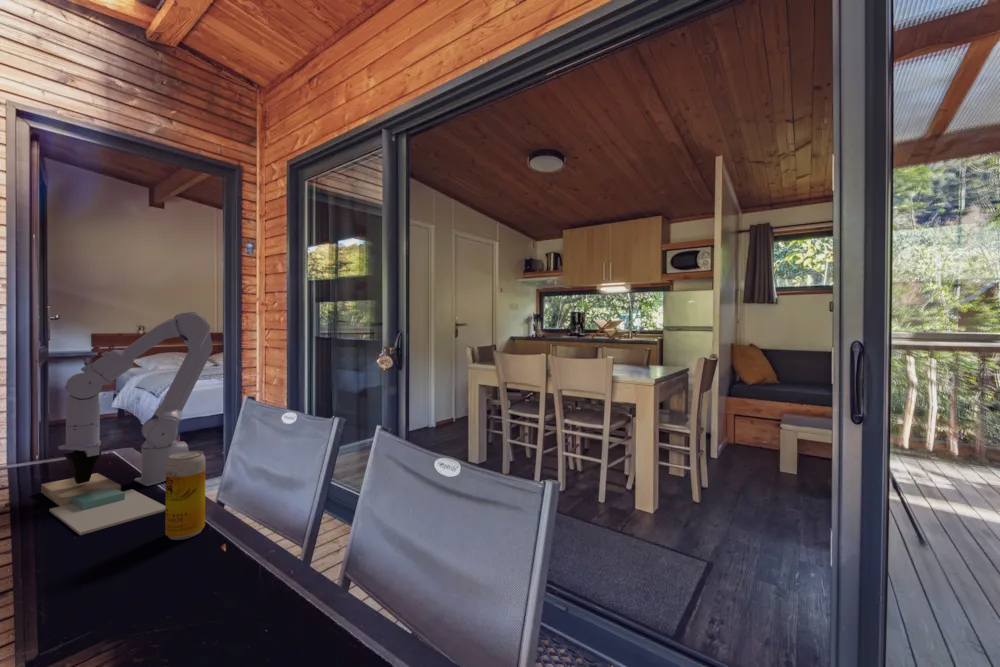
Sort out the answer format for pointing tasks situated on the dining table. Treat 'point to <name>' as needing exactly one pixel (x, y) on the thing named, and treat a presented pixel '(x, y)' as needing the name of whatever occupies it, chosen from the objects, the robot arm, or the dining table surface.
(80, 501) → the tile
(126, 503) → the mat
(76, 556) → the dining table surface
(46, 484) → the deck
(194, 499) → the beer can
